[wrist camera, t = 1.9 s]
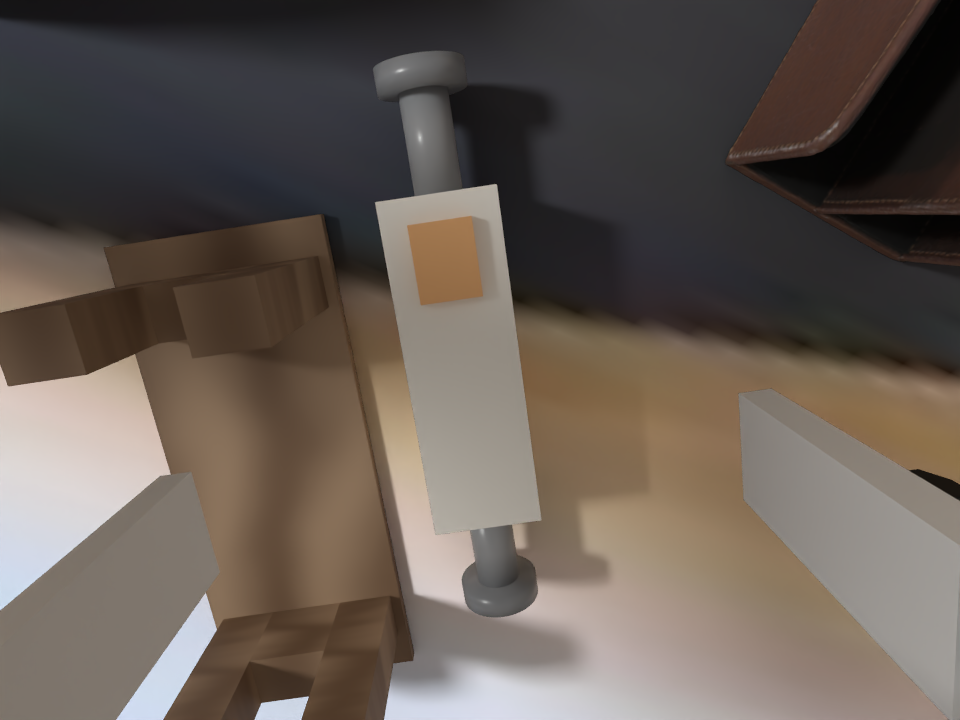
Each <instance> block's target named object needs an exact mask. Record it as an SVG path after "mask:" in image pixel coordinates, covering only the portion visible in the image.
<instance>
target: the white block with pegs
mask: <svg viewBox="0 0 960 720" xmlns="http://www.w3.org/2000/svg"><path fill="white" fill-rule="evenodd" d="M373 72H374V78H375V84H376V90H377V95H378V99H380V100H382V101H387V102H399V104H400V110H401V116H402V122H403V128H404V134H405V140H406V146H407V152H408V158H409V164H410V170H411V176H412V182H413V188H414V194H415V196H414V197H407V198H400V199H394V200H387V201H380V202H375V205H376V210H377V216H378V221H379V227H380V232H381V238H382V243H383V249H384V254H385V260H386V265H387V271H388V276H389V282H390V287H391V293H392V298H393V304H394V309H395V315H396V320H397V326H398V331H399V337H400V342H401V348H402V353H403V359H404V364H405V370H406V375H407V381H408V386H409V392H410V397H411V403H412V409H413V414H414V420H415V425H416V431H417V436H418V442H419V447H420V453H421V458H422V464H423V469H424V475H425V480H426V486H427V491H428V497H429V502H430V508H431V513H432V519H433V524H434V530H435V535H440V534H447V533H455V532H462V531H469V530H470V532H471V538H472V544H473V550H474V556H475V562H474V563H473V564H471V565H470V566H469V567H468V568H467V569H466V570H465V572H464V574H463V576H462V585H463V591H464V597H465V602H466V604H467V606H468V607H469V609H471V610H472V611H473V612H475V613H477V614H479V615H482V616H486V617H505V616H510V615H513V614H516V613H519V612H521V611H523V610H524V609H526V608H527V607H529V606H530V605H531V604H532V603H533V602H534V600H535V599H536V597H537V594H538V586H537V579H536V572H535V568H534V566H533V564H532V563H531V562H530V561H529V560H528V559H526V558H524V557H522V556H519V555H516V549H515V542H514V536H513V529H512V524H519V523H526V522H534V521H541V513H540V505H539V498H538V490H537V483H536V475H535V468H534V460H533V453H532V445H531V438H530V430H529V423H528V415H527V408H526V400H525V393H524V385H523V378H522V370H521V362H520V355H519V347H518V340H517V332H516V325H515V317H514V310H513V302H512V295H511V287H510V280H509V272H508V265H507V257H506V250H505V242H504V235H503V227H502V220H501V212H500V205H499V197H498V190H497V184H493V185H487V186H480V187H473V188H467V189H463V188H462V181H461V174H460V167H459V160H458V154H457V147H456V140H455V133H454V126H453V120H452V113H451V106H450V99H449V95H450V94H453V93H456V92H459V91H461V90H463V89H465V88H466V87H467V86H468V83H467V76H466V68H465V61H464V56H463V55H462V54H460V53H457V52H451V51H427V52H418V53H411V54H406V55H402V56H398V57H394V58H391V59H388V60H385V61H383V62H381V63H379V64H377V65H376V66H375V67H374V68H373Z"/></svg>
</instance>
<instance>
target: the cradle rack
mask: <svg viewBox="0 0 960 720" xmlns="http://www.w3.org/2000/svg"><path fill="white" fill-rule="evenodd" d="M104 251H105V254H106V257H107V261H108V264H109V267H110V271H111V274H112V278H113V281H114V284H115V288H111V289H106V290H102V291H97V292H93V293H88V294H84V295H79V296H75V297H70V298H65V299H61V300H56V301H52V302H47V303H43V304H38V305H34V306H29V307H24V308H20V309H15V310H11V311H6V312H2V313H0V365H1V368H2V371H3V373H4V376H5V379H6V382H7V385H8V386H14V385H21V384H28V383H34V382H41V381H48V380H54V379H61V378H68V377H74V376H81V375H87V374H89V373H92V372H94V371H96V370H99V369H101V368H103V367H106V366H108V365H110V364H113V363H115V362H117V361H120V360H122V359H124V358H127V357H129V356H131V355H134V354H135V355H136V358H137V362H138V365H139V368H140V372H141V375H142V379H143V382H144V385H145V389H146V392H147V395H148V399H149V402H150V405H151V409H152V412H153V416H154V419H155V422H156V426H157V429H158V432H159V436H160V439H161V443H162V446H163V449H164V453H165V456H166V459H167V463H168V466H169V469H170V473H171V475H172V474H179V473H186V472H191V473H192V476H193V480H194V483H195V487H196V490H197V494H198V497H199V501H200V504H201V508H202V511H203V515H204V518H205V522H206V525H207V529H208V532H209V536H210V539H211V543H212V546H213V550H214V553H215V557H216V561H217V564H218V568H219V571H220V573H219V574H218V576H217V577H216V579H215V580H214V581H213V583H212V584H211V586H210V587H209V589H208V590H207V591H206V594H207V597H208V601H209V604H210V607H211V611H212V614H213V618H214V621H215V624H216V628H217V631H216V633H215V634H214V636H213V638H212V639H211V641H210V643H209V644H208V646H207V648H206V649H205V651H204V653H203V654H202V656H201V658H200V659H199V661H198V663H197V664H196V666H195V668H194V669H193V671H192V673H191V674H190V676H189V678H188V679H187V681H186V683H185V684H184V686H183V688H182V689H181V691H180V693H179V694H178V696H177V698H176V699H175V701H174V703H173V704H172V706H171V708H170V709H169V711H168V713H167V714H166V716H165V718H164V719H163V720H254V719H255V717H256V714H257V712H258V709H259V707H260V705H261V703H264V702H271V701H278V700H285V699H292V698H300V697H307V696H309V698H308V701H307V704H306V707H305V710H304V713H303V717H302V720H384V716H385V710H386V704H387V698H388V692H389V686H390V680H391V674H392V668H393V663H400V662H407V661H413V657H414V650H413V645H412V640H411V636H410V631H409V626H408V621H407V616H406V611H405V606H404V602H403V597H402V592H401V587H400V582H399V577H398V572H397V568H396V563H395V558H394V553H393V548H392V543H391V539H390V534H389V529H388V524H387V519H386V514H385V509H384V505H383V500H382V495H381V490H380V485H379V480H378V476H377V471H376V466H375V461H374V456H373V451H372V446H371V442H370V437H369V432H368V427H367V422H366V417H365V413H364V408H363V403H362V398H361V393H360V388H359V383H358V379H357V374H356V369H355V364H354V359H353V354H352V350H351V345H350V340H349V335H348V330H347V325H346V320H345V316H344V311H343V306H342V301H341V296H340V291H339V287H338V282H337V277H336V272H335V267H334V262H333V257H332V253H331V248H330V243H329V238H328V233H327V228H326V224H325V219H324V214H319V215H312V216H306V217H299V218H293V219H286V220H280V221H273V222H267V223H260V224H254V225H247V226H241V227H234V228H228V229H221V230H215V231H208V232H202V233H195V234H189V235H182V236H176V237H170V238H163V239H157V240H150V241H144V242H137V243H131V244H124V245H118V246H111V247H105V248H104Z"/></svg>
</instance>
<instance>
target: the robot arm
mask: <svg viewBox="0 0 960 720" xmlns="http://www.w3.org/2000/svg"><path fill="white" fill-rule="evenodd" d="M739 413H740V434H741V455H742V476H743V497H744V501H745V502H746V503H747V504H748V505H749V506H750V507H751V508H752V509H753V510H754V512H755V513H756V514H757V515H758V516H759V517H760V518H761V519H762V520H763V521H764V522H765V523H766V524H767V525H768V527H769V528H770V529H771V530H772V531H773V532H774V533H775V534H776V535H777V536H778V537H779V538H780V539H781V540H782V542H783V543H784V544H785V545H786V546H787V547H788V548H789V549H790V550H791V551H792V552H793V553H794V554H795V555H796V557H797V558H798V559H799V560H800V561H801V562H802V563H803V564H804V565H805V566H806V567H807V568H808V569H809V570H810V572H811V573H812V574H813V575H814V576H815V577H816V578H817V579H818V580H819V581H820V582H821V583H822V584H823V586H824V587H825V588H826V589H827V590H828V591H829V592H830V593H831V594H832V595H833V596H834V597H835V598H836V599H837V601H838V602H839V603H840V604H841V605H842V606H843V607H844V608H845V609H846V610H847V611H848V612H849V613H850V614H851V616H852V617H853V618H854V619H855V620H856V621H857V622H858V623H859V624H860V625H861V626H862V627H863V628H864V629H865V631H866V632H867V633H868V634H869V635H870V636H871V637H872V638H873V639H874V640H875V641H876V642H877V643H878V644H879V646H880V647H881V648H882V649H883V650H884V651H885V652H886V653H887V654H888V655H889V656H890V657H891V658H892V660H893V661H894V662H895V663H896V664H897V665H898V666H899V667H900V668H901V669H902V670H903V671H904V672H905V673H906V675H907V676H908V677H909V678H910V679H911V680H912V681H913V682H914V683H915V684H916V685H917V686H918V687H919V688H920V690H921V691H922V692H923V693H924V694H925V695H926V696H927V697H928V698H929V699H930V700H931V701H932V702H933V703H934V705H935V706H936V707H937V708H938V709H939V710H940V711H941V712H942V713H943V714H944V715H945V716H946V717H947V718H948V720H960V484H958V483H956V482H954V481H953V480H950V479H947V478H944V477H941V476H938V475H935V474H932V473H928V472H925V471H922V470H919V469H916V470H907V469H905V468H904V467H902V466H900V465H899V464H897V463H895V462H894V461H892V460H890V459H888V458H887V457H885V456H883V455H882V454H880V453H878V452H877V451H875V450H873V449H872V448H870V447H868V446H867V445H865V444H863V443H862V442H860V441H858V440H857V439H855V438H853V437H852V436H850V435H848V434H847V433H845V432H843V431H842V430H840V429H838V428H837V427H835V426H833V425H832V424H830V423H828V422H827V421H825V420H823V419H821V418H820V417H818V416H816V415H815V414H813V413H811V412H810V411H808V410H806V409H805V408H803V407H801V406H800V405H798V404H796V403H795V402H793V401H791V400H790V399H788V398H786V397H785V396H783V395H781V394H780V393H778V392H776V391H775V390H773V389H765V390H758V391H751V392H744V393H739ZM219 573H220V571H219V568H218V564H217V561H216V557H215V553H214V550H213V546H212V543H211V539H210V536H209V532H208V529H207V525H206V522H205V518H204V515H203V511H202V508H201V504H200V501H199V497H198V494H197V490H196V487H195V483H194V480H193V476H192V473H191V472H186V473H179V474H172V475H165V476H160V477H159V478H157V479H156V480H155V481H154V482H153V483H151V484H150V485H149V486H148V487H147V488H145V489H144V490H143V491H142V492H141V493H140V494H138V495H137V496H136V497H135V498H134V499H132V500H131V501H130V502H129V503H128V504H126V505H125V506H124V507H123V508H122V509H121V510H119V511H118V512H117V513H116V514H115V515H113V516H112V517H111V518H110V519H109V520H107V521H106V522H105V523H104V524H103V525H101V526H100V527H99V528H98V529H97V530H96V531H94V532H93V533H92V534H91V535H90V536H88V537H87V538H86V539H85V540H84V541H82V542H81V543H80V544H79V545H78V546H77V547H75V548H74V549H73V550H72V551H71V552H69V553H68V554H67V555H66V556H65V557H63V558H62V559H61V560H60V561H59V562H58V563H56V564H55V565H54V566H53V567H52V568H50V569H49V570H48V571H47V572H46V573H44V574H43V575H42V576H41V577H40V578H38V579H37V580H36V581H35V582H34V583H33V584H31V585H30V586H29V587H28V588H27V589H25V590H24V591H23V592H22V593H21V594H19V595H18V596H17V597H16V598H15V599H14V600H12V601H11V602H10V603H9V604H8V605H6V606H5V607H4V608H3V609H2V610H0V720H116V719H117V717H118V716H119V715H120V713H121V712H122V710H123V709H124V708H125V706H126V705H127V703H128V702H129V700H130V699H131V698H132V696H133V695H134V693H135V692H136V691H137V689H138V688H139V686H140V685H141V683H142V682H143V681H144V679H145V678H146V676H147V675H148V674H149V672H150V671H151V669H152V668H153V666H154V665H155V664H156V662H157V661H158V659H159V658H160V657H161V655H162V654H163V652H164V651H165V649H166V648H167V647H168V645H169V644H170V642H171V641H172V640H173V638H174V637H175V635H176V634H177V632H178V631H179V630H180V628H181V627H182V625H183V624H184V623H185V621H186V620H187V618H188V617H189V615H190V614H191V613H192V611H193V610H194V608H195V607H196V606H197V604H198V603H199V601H200V600H201V598H202V597H203V596H204V594H205V593H206V591H207V590H208V589H209V587H210V586H211V584H212V583H213V581H214V580H215V579H216V577H217V576H218V574H219Z"/></svg>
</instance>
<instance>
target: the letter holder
mask: <svg viewBox="0 0 960 720" xmlns="http://www.w3.org/2000/svg"><path fill="white" fill-rule="evenodd" d="M725 163H726V165H728V166H730V167H732V168H734V169H736V170H738V171H739V172H741V173H742V174H744V175H745V176H747V177H749V178H751V179H752V180H754V181H756V182H758V183H760V184H762V185H764V186H765V187H767V188H769V189H770V190H772V191H774V192H776V193H777V194H779V195H781V196H782V197H784V198H786V199H788V200H789V201H791V202H793V203H795V204H796V205H798V206H800V207H802V208H803V209H805V210H807V211H808V212H810V213H812V214H814V215H815V216H817V217H819V218H820V219H822V220H824V221H825V222H827V223H829V224H830V225H832V226H834V227H836V228H837V229H839V230H841V231H843V232H844V233H846V234H848V235H849V236H851V237H853V238H855V239H857V240H858V241H860V242H862V243H864V244H865V245H867V246H869V247H871V248H873V249H874V250H876V251H878V252H879V253H881V254H883V255H885V256H887V257H889V258H891V259H894V260H898V261H901V262H906V261H909V262H919V263H932V264H943V265H955V266H960V0H817V2H816V3H815V5H814V6H813V9H812V11H811V13H810V15H809V16H808V18H807V19H806V21H805V23H804V25H803V26H802V28H801V29H800V30H799V32H798V34H797V36H796V38H795V40H794V42H793V44H792V45H791V47H790V49H789V51H788V53H787V54H786V55H785V57H784V59H783V60H782V63H781V64H780V66H779V67H778V69H777V71H776V73H775V75H774V76H773V78H772V80H771V81H770V83H769V85H768V87H767V89H766V90H765V92H764V94H763V96H762V97H761V99H760V100H759V102H758V104H757V106H756V108H755V109H754V111H753V113H752V115H751V117H750V118H749V120H748V122H747V124H746V125H745V127H744V128H743V130H742V131H741V133H740V135H739V137H738V138H737V140H736V142H735V144H734V145H733V147H732V148H731V149H730V151H729V154H728V157H727V159H726V161H725Z"/></svg>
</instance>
